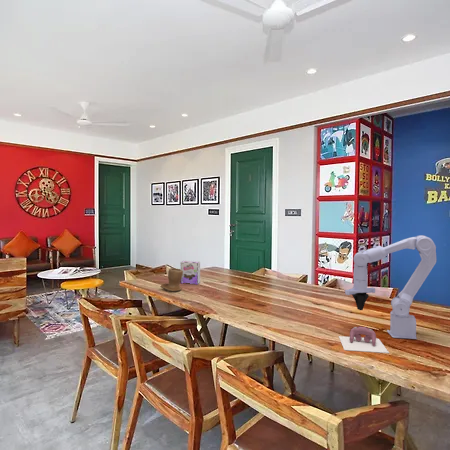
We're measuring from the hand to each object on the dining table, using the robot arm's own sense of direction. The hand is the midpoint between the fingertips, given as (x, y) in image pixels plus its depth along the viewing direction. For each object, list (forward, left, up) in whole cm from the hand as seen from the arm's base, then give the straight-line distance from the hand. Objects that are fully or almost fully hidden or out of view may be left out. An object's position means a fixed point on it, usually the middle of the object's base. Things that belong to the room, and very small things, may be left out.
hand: (360, 309), depth 147 cm
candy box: (+103, -82, -10) cm, 131 cm away
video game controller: (+2, +15, -9) cm, 18 cm away
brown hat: (+109, -60, -10) cm, 124 cm away
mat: (+3, +16, -9) cm, 19 cm away
